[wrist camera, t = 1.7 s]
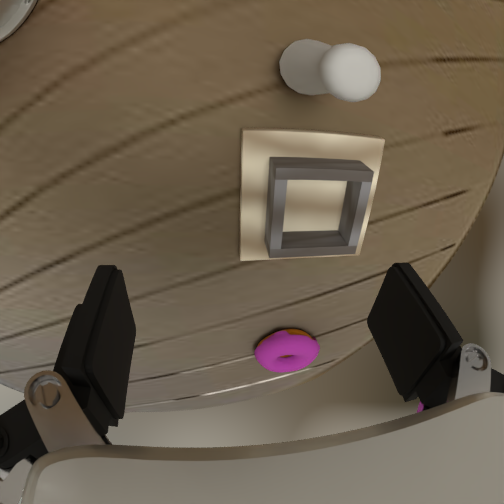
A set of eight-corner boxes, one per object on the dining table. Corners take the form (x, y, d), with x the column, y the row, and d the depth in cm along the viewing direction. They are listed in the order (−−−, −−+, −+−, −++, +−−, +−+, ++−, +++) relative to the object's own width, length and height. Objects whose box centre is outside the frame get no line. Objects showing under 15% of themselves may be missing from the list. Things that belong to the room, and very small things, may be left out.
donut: (243, 342, 50) (246, 364, 46) (294, 312, 47) (300, 334, 44) (277, 364, 55) (282, 384, 52) (323, 339, 53) (331, 359, 49)
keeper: (241, 127, 30) (246, 138, 26) (378, 136, 32) (400, 149, 28) (239, 253, 39) (243, 279, 35) (355, 248, 41) (369, 271, 37)
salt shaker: (263, 72, 27) (297, 79, 16) (294, 30, 24) (346, 15, 14) (309, 102, 29) (364, 130, 19) (339, 62, 27) (408, 71, 16)
